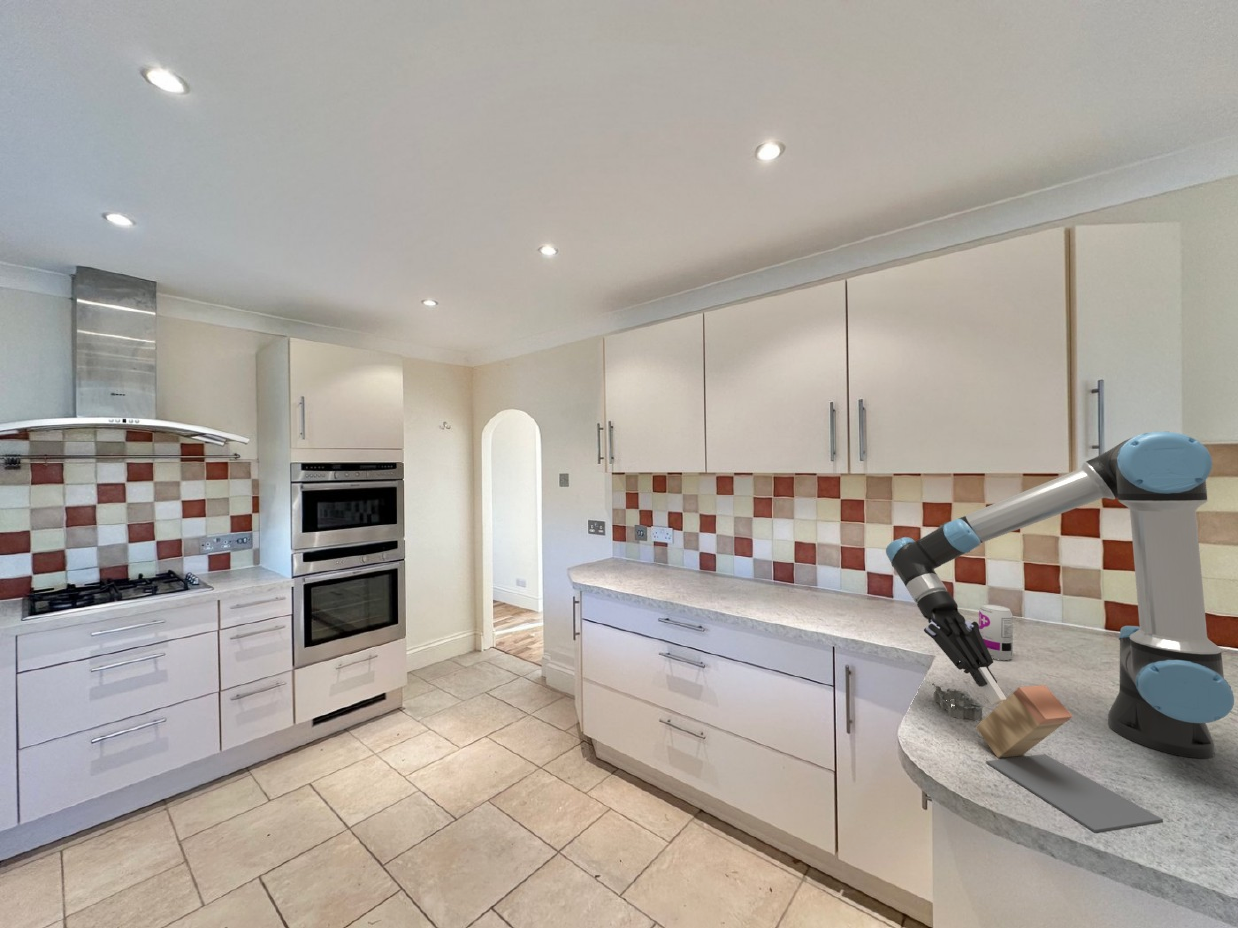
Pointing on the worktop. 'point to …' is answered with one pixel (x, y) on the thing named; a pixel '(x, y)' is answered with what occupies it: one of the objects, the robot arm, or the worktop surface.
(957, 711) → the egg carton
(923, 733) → the worktop surface
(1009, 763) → the mat
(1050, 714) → the oak block
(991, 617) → the supplement can
